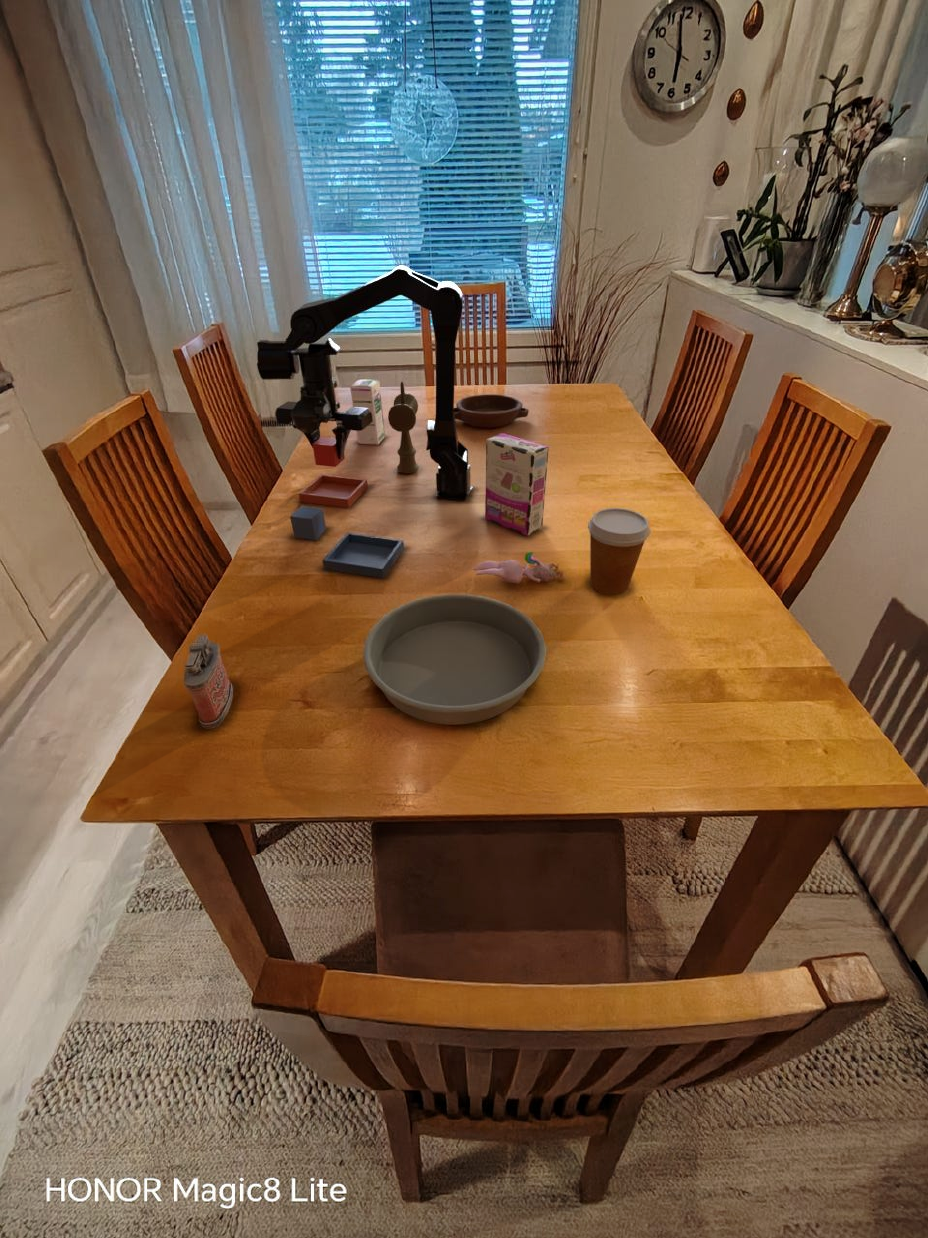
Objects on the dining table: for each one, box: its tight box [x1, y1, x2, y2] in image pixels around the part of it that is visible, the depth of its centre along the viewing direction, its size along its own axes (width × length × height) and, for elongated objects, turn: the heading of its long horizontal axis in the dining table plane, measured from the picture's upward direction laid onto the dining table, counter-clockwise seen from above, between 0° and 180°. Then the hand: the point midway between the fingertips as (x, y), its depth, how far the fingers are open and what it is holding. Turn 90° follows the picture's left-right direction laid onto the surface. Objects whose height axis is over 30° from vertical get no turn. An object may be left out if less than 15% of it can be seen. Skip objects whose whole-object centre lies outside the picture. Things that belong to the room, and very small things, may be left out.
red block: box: [312, 435, 346, 468], centre depth 121 cm, size 4×4×4 cm
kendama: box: [387, 381, 419, 474], centre depth 131 cm, size 6×10×20 cm, turn 179°
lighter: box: [183, 634, 234, 730], centre depth 74 cm, size 8×3×10 cm, turn 5°
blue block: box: [289, 505, 327, 541], centre depth 112 cm, size 4×4×4 cm
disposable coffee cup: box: [587, 507, 651, 596], centre depth 95 cm, size 10×10×12 cm
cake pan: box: [362, 593, 547, 726], centre depth 81 cm, size 25×25×4 cm
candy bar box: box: [484, 432, 550, 537], centre depth 111 cm, size 11×5×16 cm, turn 47°
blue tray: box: [322, 532, 405, 579], centre depth 105 cm, size 11×10×2 cm
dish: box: [454, 393, 530, 429], centre depth 162 cm, size 18×22×5 cm
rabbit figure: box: [473, 551, 564, 585], centre depth 98 cm, size 6×6×15 cm
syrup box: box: [349, 379, 386, 446], centre depth 148 cm, size 6×6×14 cm
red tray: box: [298, 474, 369, 509], centre depth 127 cm, size 11×10×2 cm
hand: (329, 457), depth 122 cm, fingers closed on red block, 4 cm apart
